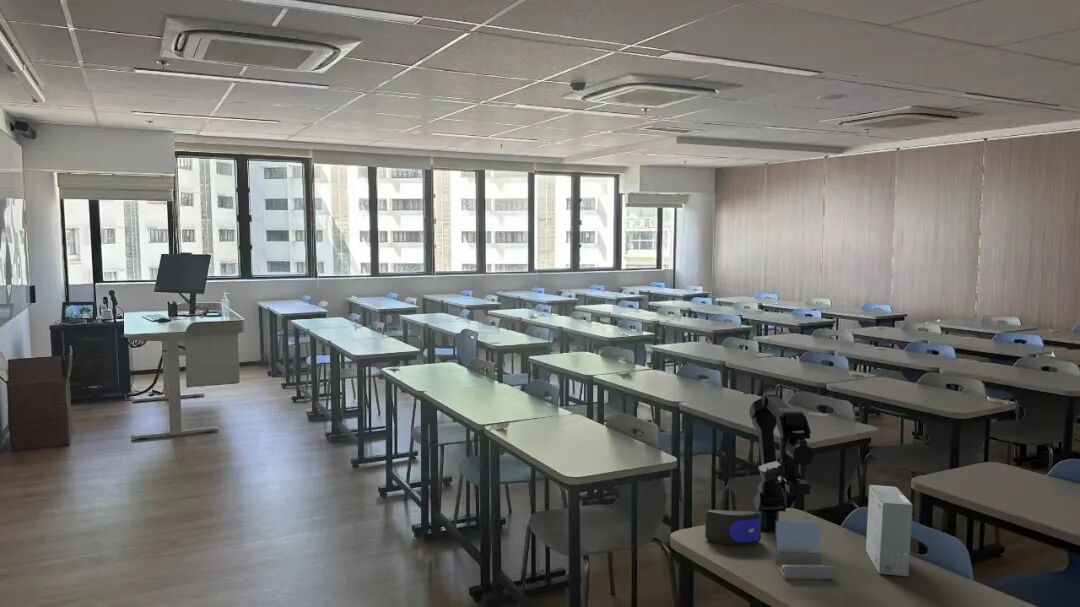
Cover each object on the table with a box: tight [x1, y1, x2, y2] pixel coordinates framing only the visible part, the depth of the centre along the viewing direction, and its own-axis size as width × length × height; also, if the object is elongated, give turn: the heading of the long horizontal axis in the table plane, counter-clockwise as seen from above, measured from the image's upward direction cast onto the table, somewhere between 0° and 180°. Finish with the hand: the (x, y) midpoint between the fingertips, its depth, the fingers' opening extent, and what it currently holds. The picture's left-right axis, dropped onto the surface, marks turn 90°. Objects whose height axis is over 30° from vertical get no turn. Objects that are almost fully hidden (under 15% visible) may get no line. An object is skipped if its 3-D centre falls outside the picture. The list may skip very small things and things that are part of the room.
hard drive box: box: [865, 484, 914, 577], centre depth 198 cm, size 16×8×20 cm, turn 168°
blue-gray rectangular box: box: [774, 520, 821, 553], centre depth 197 cm, size 8×12×1 cm
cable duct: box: [773, 552, 835, 581], centre depth 193 cm, size 9×13×4 cm, turn 90°
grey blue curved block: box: [704, 509, 762, 547], centre depth 211 cm, size 16×5×9 cm, turn 84°
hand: (788, 507), depth 205 cm, fingers closed
